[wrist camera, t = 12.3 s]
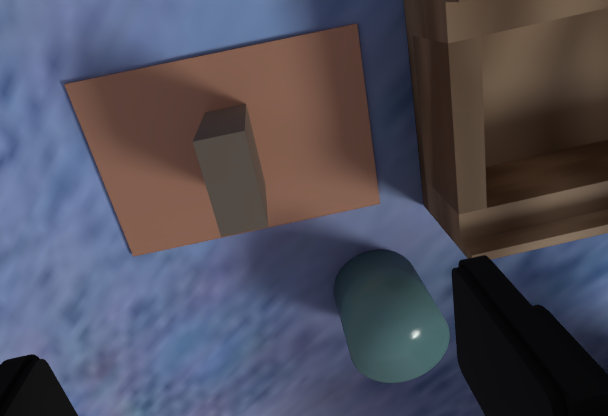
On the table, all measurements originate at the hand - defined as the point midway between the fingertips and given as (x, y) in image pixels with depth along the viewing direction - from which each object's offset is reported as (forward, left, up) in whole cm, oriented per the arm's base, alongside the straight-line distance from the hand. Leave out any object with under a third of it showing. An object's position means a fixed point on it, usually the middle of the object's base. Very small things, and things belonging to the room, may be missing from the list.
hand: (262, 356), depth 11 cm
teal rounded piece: (+12, +6, -19) cm, 23 cm away
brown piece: (0, -1, -19) cm, 19 cm away
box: (0, +19, -19) cm, 26 cm away
